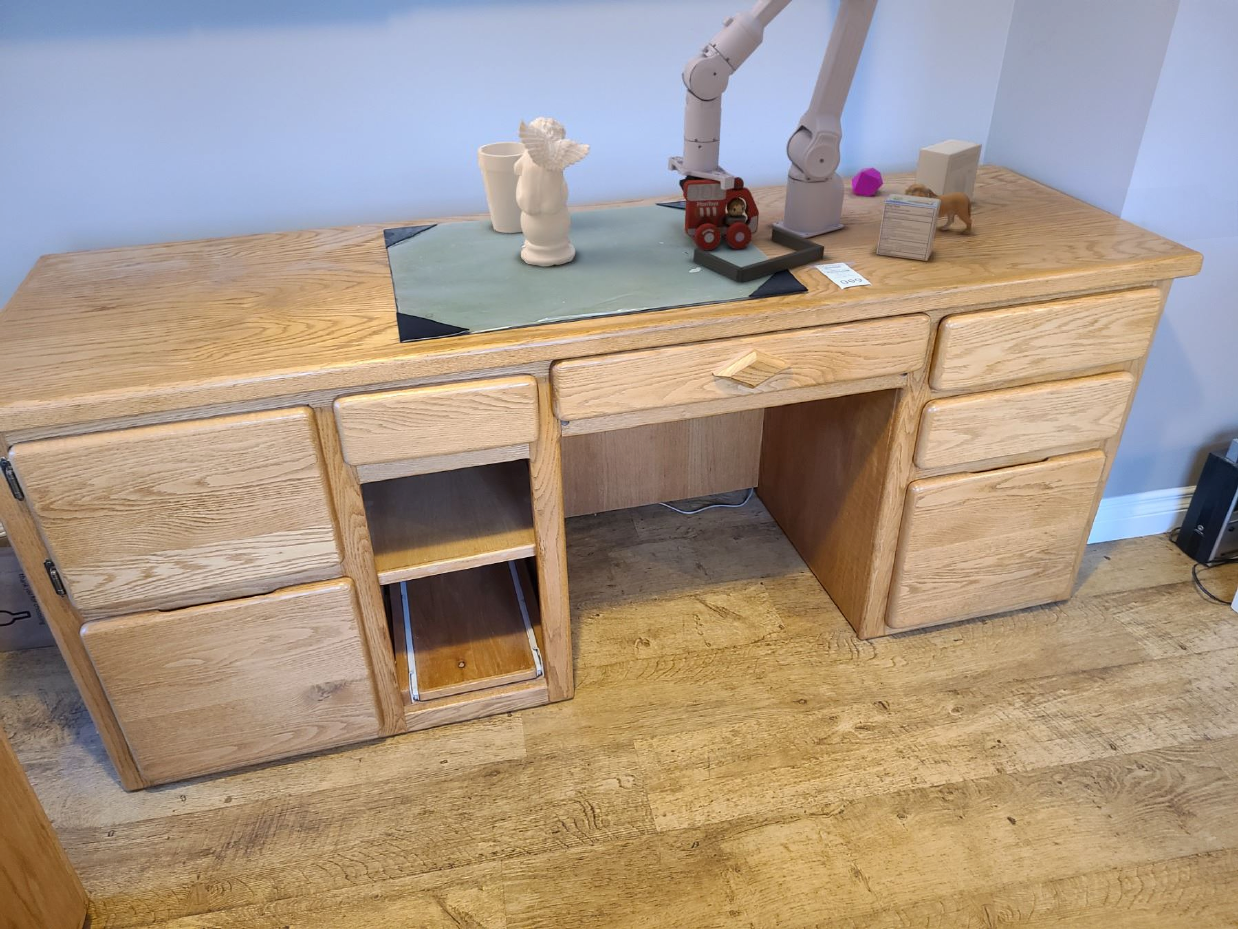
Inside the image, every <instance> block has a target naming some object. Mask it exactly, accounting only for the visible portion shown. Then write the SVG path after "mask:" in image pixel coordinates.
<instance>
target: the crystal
mask: <svg viewBox="0 0 1238 929" xmlns="http://www.w3.org/2000/svg"><path fill="white" fill-rule="evenodd" d="M850 181H851V188H852V192H853V194H854V195H856V196H863V197H871V196H873V195H874V193H876V192H877V191H878V190H879V189H881V187H882V186H883V185H884V181H883V177H882V173H881V172H880V171H879V170H878V169H876V168H874V167H865V168H862V169H860V170H859V171H858V173H857V174H856V175H854V177H853V178H851V180H850Z"/></svg>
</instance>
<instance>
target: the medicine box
mask: <svg viewBox="0 0 1238 929" xmlns="http://www.w3.org/2000/svg"><path fill="white" fill-rule="evenodd" d="M940 203H941V200H940V199H934V198H926V197H918V196H909V195H904V194H899V193H890V194H889V195H888V197H887V198H886V199H885V200H884V203H883V209H882V215H881V216H882V217H881V222H880V228H879V236H878V242H877V248H876V255H879V256H880V255H881V256H887V257H896V258H901V259H902V258H903V259H910V260H917V261H925V262H928V260H929V258H930V256H931V254H932V251H933V246H934V240H935V234H936V231H937V230H936V229H937V223H938V219H939V218H938V214H939V208H940Z"/></svg>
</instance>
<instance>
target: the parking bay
mask: <svg viewBox="0 0 1238 929" xmlns="http://www.w3.org/2000/svg"><path fill="white" fill-rule="evenodd" d="M771 230H772V231H771V238H770V239H771V240H770V241H773V243H776V244H780V245H782V246H784V247H786V248H789V249H792V250H795V251H793V252H790V253H785V254H783V255H779V256H776V257H773V258H769V259H765V260H761V261H757V262H754V263H751V264H748V265H747V264H746V265H744V266H739V265H737V264H735V263H732V262H730V261H728V260H726V259H724V258H722V257H720V256H716V255H715V254H712V253H710V252H707V250H703V249H701V248H699V247H698V248H694V249H693V262H694V263H696V264H699V265H701V266H703V267H705V268H707V269H710V270H712V271H714V272H715V273H718V274H721V275H722V276H724V277H726V278H728V279H731V280H733V281H735V282H737V283H740V284H742V283H745V282H749V281H752V280H755V279H759V278H763V277H766V276H768V275H773V274H775V273H779V272H782V271H786V270H789V269H793V268H796V267H800V266H803V265H806V264H810V263H813V262H816V261H820V260H823V259H824V255H825V254H824V253H825V246H824V245H822V244H820V243H817V242H814V241H811V240H808V239H807V238H802V237H799V236H797V235H794V234H791V233H789V232H786V231H784V230H781V229H778V228H776V227H773V228H772V229H771Z"/></svg>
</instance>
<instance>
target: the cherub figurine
mask: <svg viewBox="0 0 1238 929" xmlns="http://www.w3.org/2000/svg"><path fill="white" fill-rule="evenodd" d="M566 134H567V132H566V128H565V126H564V124H563V125H562V123H560V122H559V121H558V120H557V119H554V118H553V117H550V116H549V117H544V116H539V117H536V118H535V119H534V120H532V121H530V123H529V124H527V123H525V122H524V120H523V118H521V119H520V121H519V124H518V133H517V136H518V138H519V139H520V143H523V144H524V147H525V148H527V149H526V151H525V152H524V154H523V155H522V157H521V158H520V159H519V160H518V161H517V162H516V163H515V165H514V174H515V175H519V179H518V183H517V188H516V200H517V203H518V205H519V207H520V209H521V210H522V213H521V219H520V220H521V228H522V234H523V235H524V237H525V239H524V246H525V247H523V248H522V249H521V252H520V257H521V259H522V260H523V261H524V262H525V263H526V264H528V265H533V266H539V267H552V266H554V265H555V266H559V265H562V264H563V265H564V264H566V263H568V262H572V261H573V260H574V258H575V255H576V249H575V247H574V246H573V245H572V244H570V243H571V238H570V237H569V234H570V231H571V226H572V217H571V213H570V211H569V208H568V206H567V201H568V200H569V186H568V183H567V181H566V178H565V176H564V171H565V170H566V168H569V167H570V165H571V166H574V165H575V164H576V163H580V161H581V160H583V159H585V158H586V156H587V155H589V154H590V148H591V145H589V144H583V143H582V142H577V141H576V140H573V139H570V138H566Z"/></svg>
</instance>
